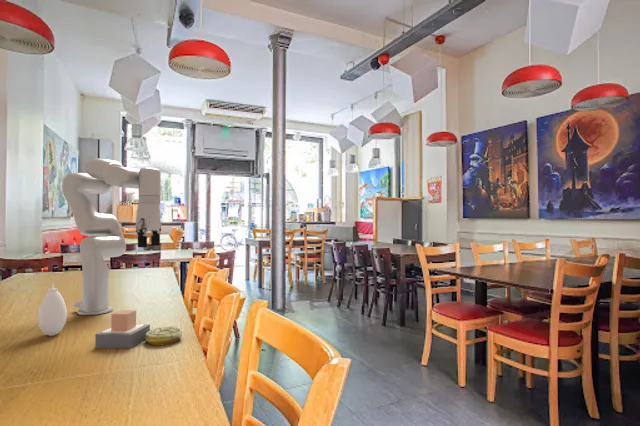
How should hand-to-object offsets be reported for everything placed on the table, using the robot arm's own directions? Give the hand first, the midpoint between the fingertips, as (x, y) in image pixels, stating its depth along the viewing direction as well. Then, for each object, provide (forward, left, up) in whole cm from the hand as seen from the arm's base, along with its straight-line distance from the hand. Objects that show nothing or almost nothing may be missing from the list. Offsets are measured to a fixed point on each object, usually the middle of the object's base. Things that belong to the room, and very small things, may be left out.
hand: (149, 246), depth 141 cm
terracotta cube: (+4, -23, -24) cm, 33 cm away
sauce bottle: (-24, -17, -28) cm, 41 cm away
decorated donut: (+16, -21, -29) cm, 39 cm away
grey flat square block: (+4, -23, -28) cm, 37 cm away
